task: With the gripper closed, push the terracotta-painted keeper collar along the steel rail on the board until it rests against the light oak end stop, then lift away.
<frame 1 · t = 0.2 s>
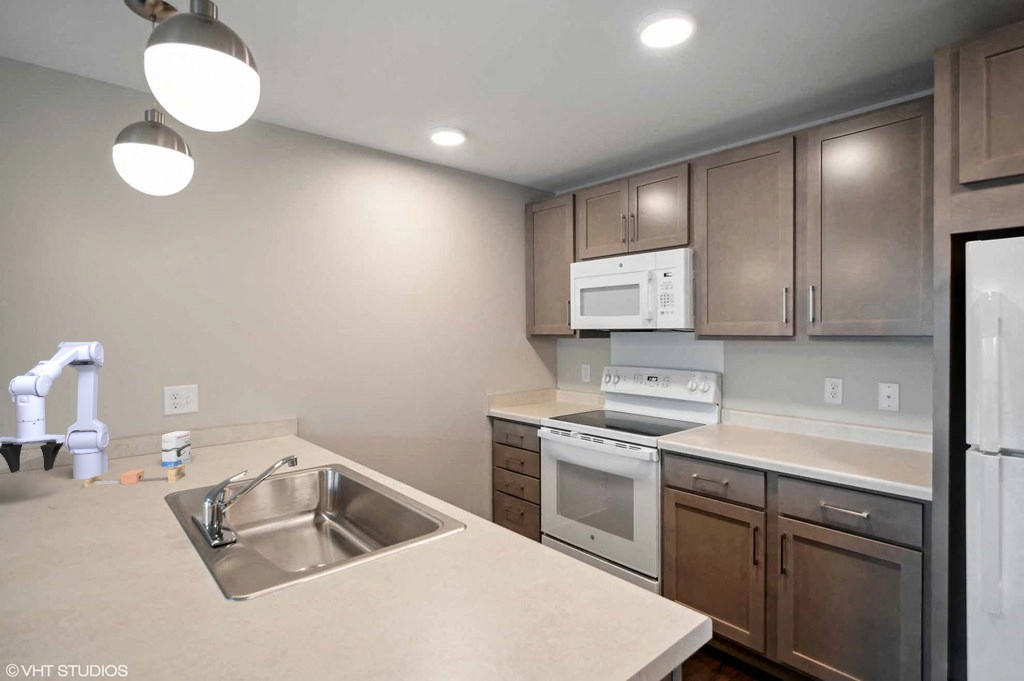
hand: (32, 470, 136), 10 cm above the worktop, fingers open, 7 cm apart
keeper: (132, 476, 156), point 3 cm above the worktop, slide at 0.0 cm
rail board: (136, 484, 156), on the worktop
ink box: (176, 467, 177), on the worktop
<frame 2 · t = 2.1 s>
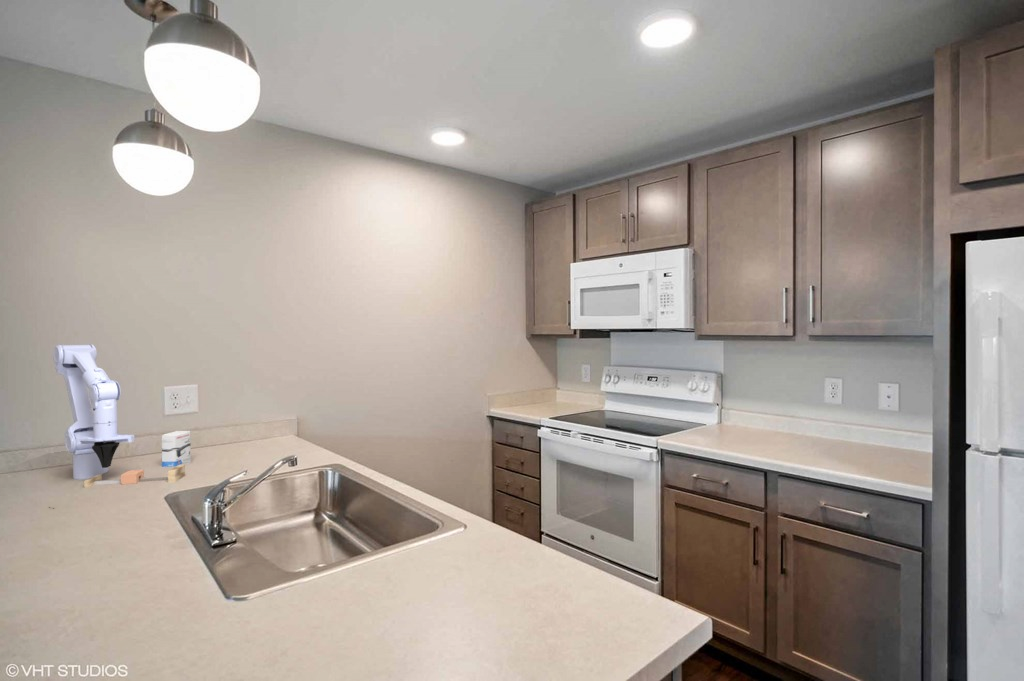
hand: (106, 466, 154), 6 cm above the worktop, fingers closed
nothing on the worktop moved.
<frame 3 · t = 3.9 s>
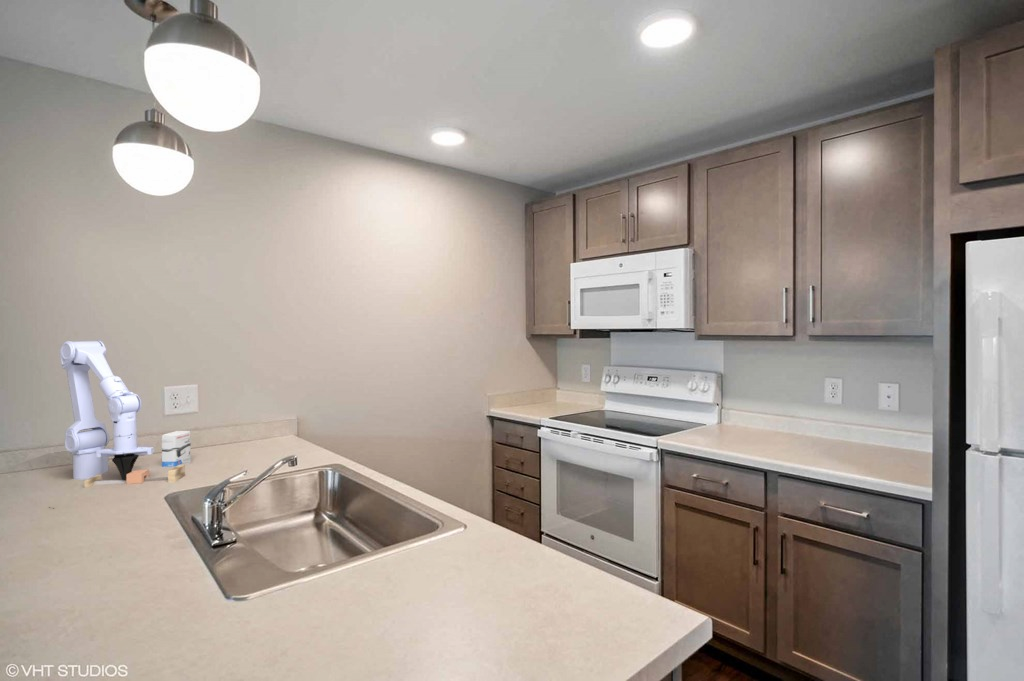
hand: (126, 478, 155), 2 cm above the worktop, fingers closed
keeper: (138, 476, 156), point 3 cm above the worktop, slide at 1.4 cm, touching gripper
everything else where it was.
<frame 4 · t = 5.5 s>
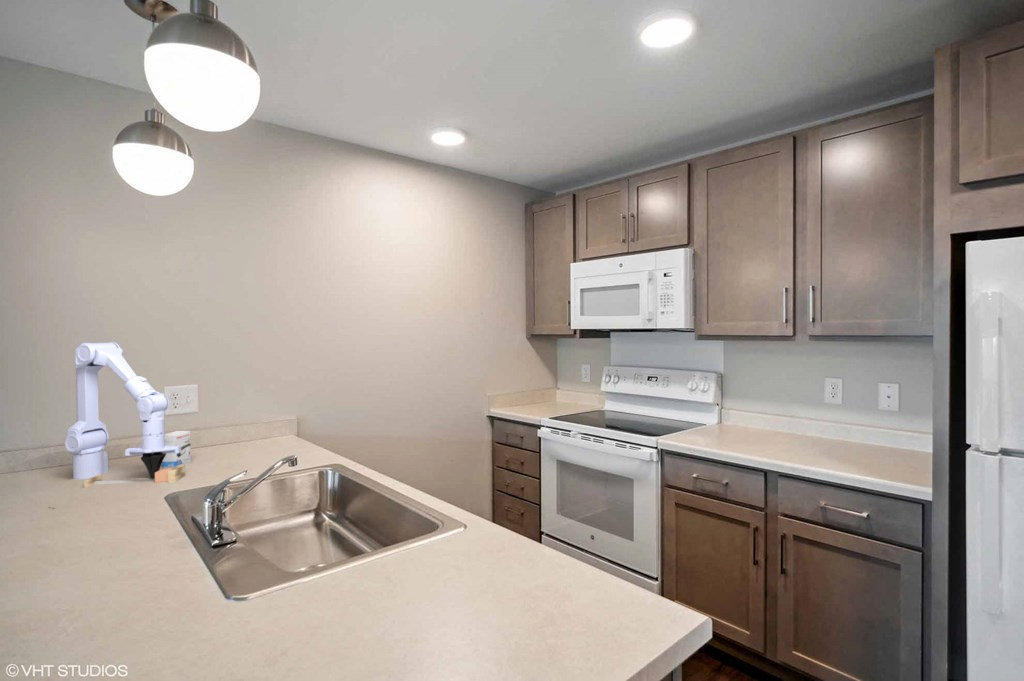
hand: (154, 477, 157), 2 cm above the worktop, fingers closed
keeper: (165, 474, 158), point 3 cm above the worktop, slide at 9.0 cm, touching gripper, rail board
everything else where it was.
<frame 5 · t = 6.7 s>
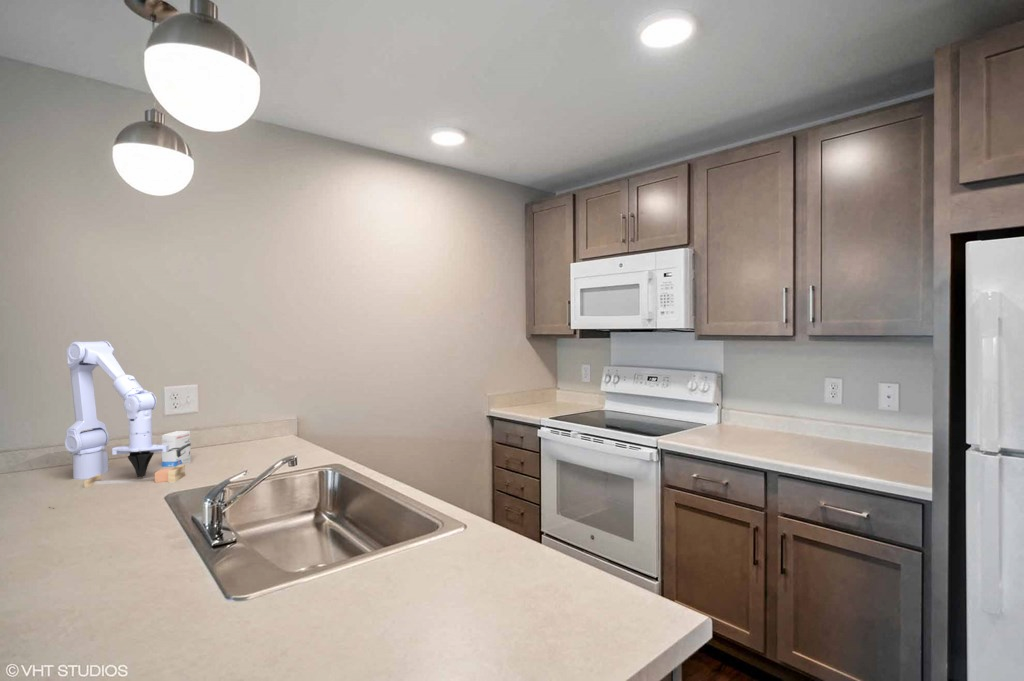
hand: (141, 476, 156), 3 cm above the worktop, fingers closed
keeper: (165, 474, 158), point 3 cm above the worktop, slide at 9.0 cm
everything else where it was.
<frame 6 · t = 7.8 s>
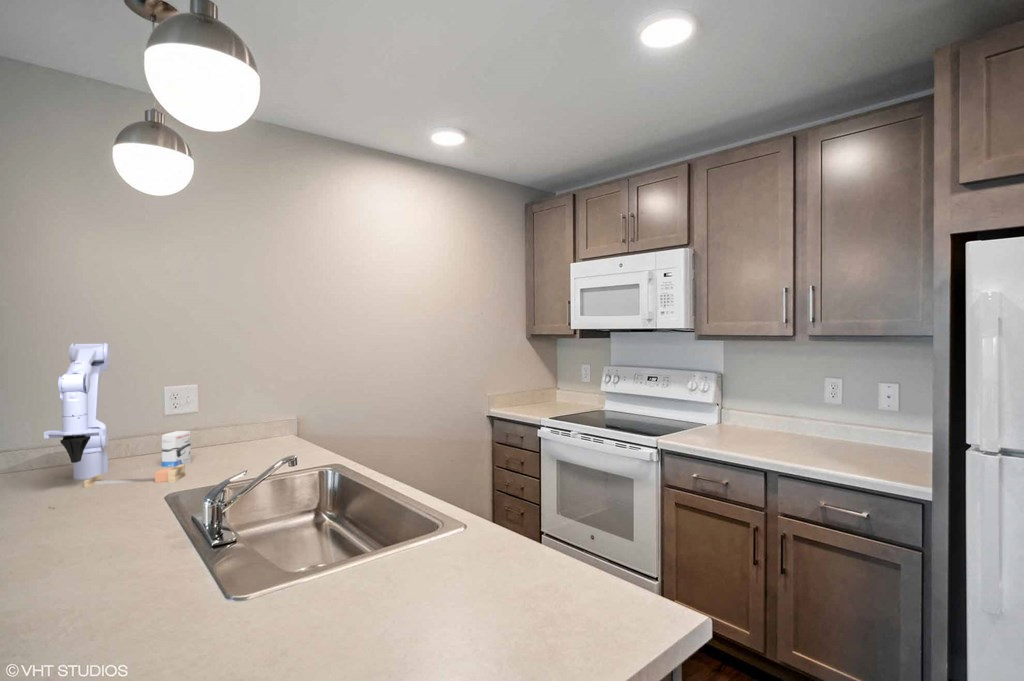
hand: (76, 461, 147), 9 cm above the worktop, fingers closed
nothing on the worktop moved.
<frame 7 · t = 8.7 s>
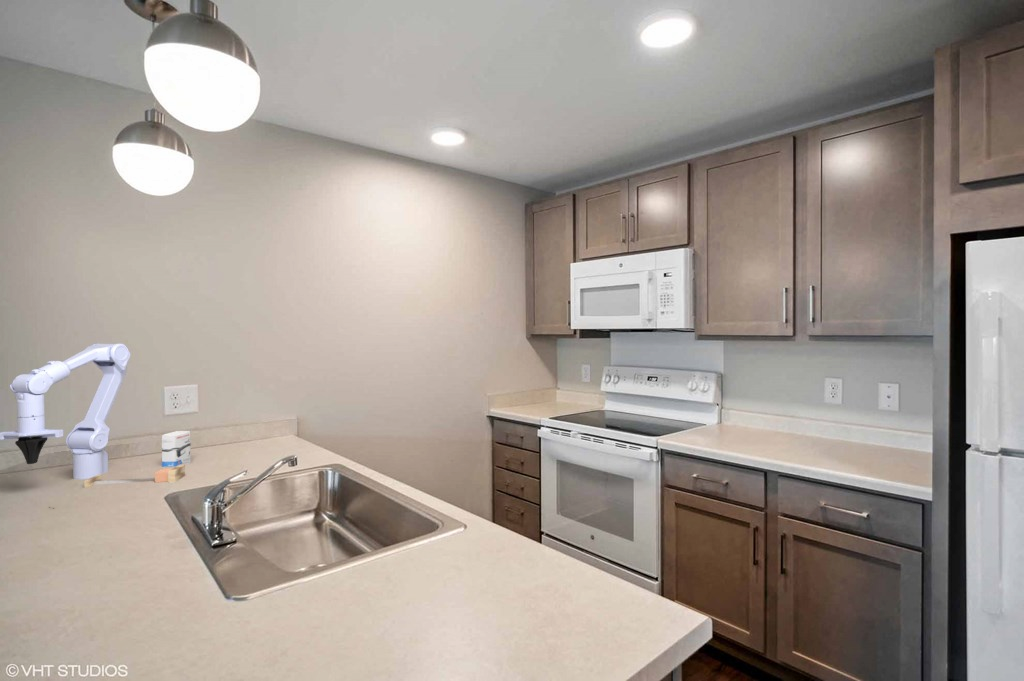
hand: (32, 463, 146), 9 cm above the worktop, fingers closed
nothing on the worktop moved.
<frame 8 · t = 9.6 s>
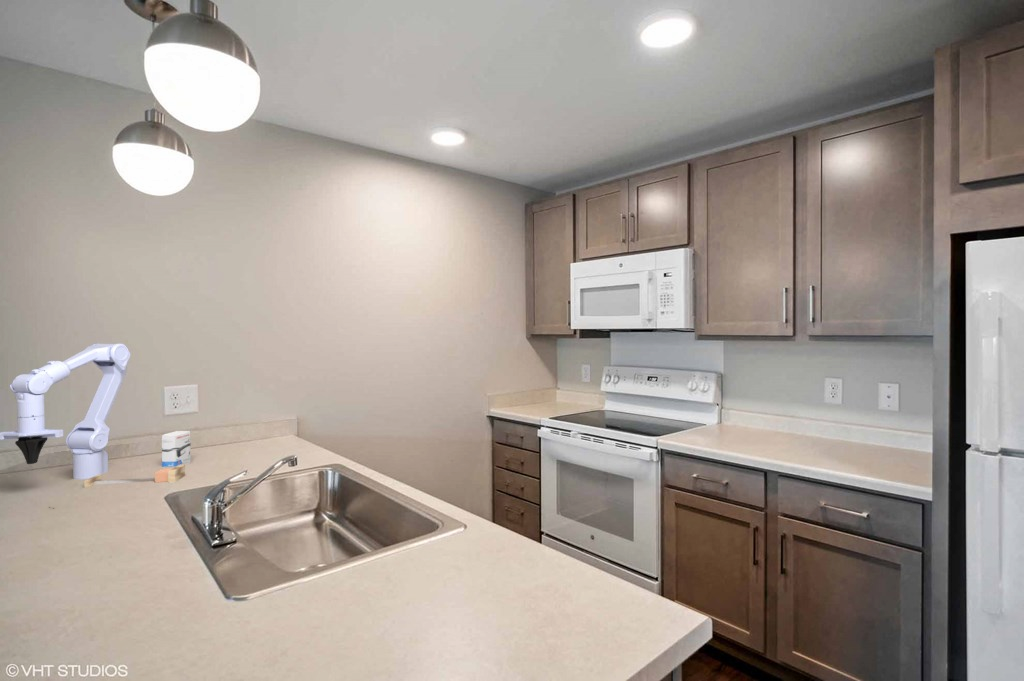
hand: (32, 463, 146), 9 cm above the worktop, fingers closed
nothing on the worktop moved.
at the end: keeper slide at 9.0 cm; keeper 0.5 cm from the target spot, point 2.5 cm above the worktop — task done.
